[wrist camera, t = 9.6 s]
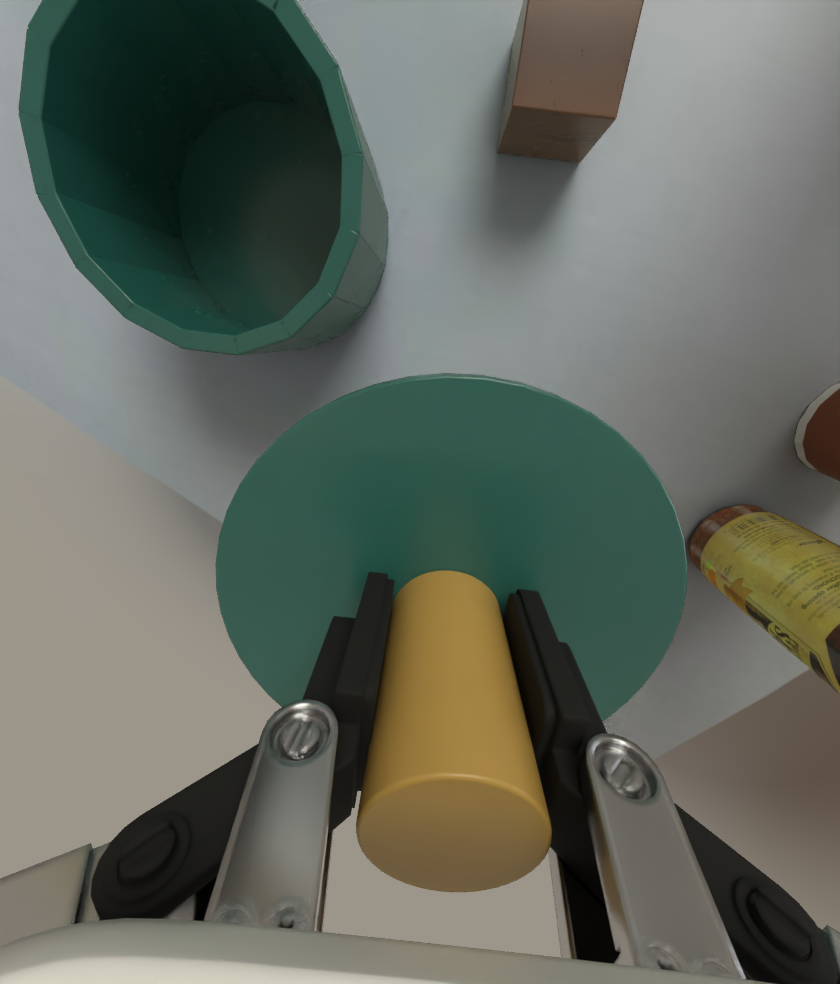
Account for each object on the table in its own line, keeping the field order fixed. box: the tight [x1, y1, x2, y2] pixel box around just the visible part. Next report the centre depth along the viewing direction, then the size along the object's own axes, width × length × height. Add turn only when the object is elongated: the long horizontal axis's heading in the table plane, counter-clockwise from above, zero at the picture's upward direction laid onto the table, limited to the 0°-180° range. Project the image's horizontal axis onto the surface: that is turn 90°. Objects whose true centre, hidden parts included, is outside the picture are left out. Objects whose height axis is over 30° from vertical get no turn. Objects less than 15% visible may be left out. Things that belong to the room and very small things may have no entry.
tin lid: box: [216, 373, 687, 892], centre depth 9 cm, size 14×14×7 cm
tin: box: [19, 0, 388, 355], centre depth 18 cm, size 13×13×8 cm
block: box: [497, 0, 644, 162], centre depth 18 cm, size 4×4×4 cm
